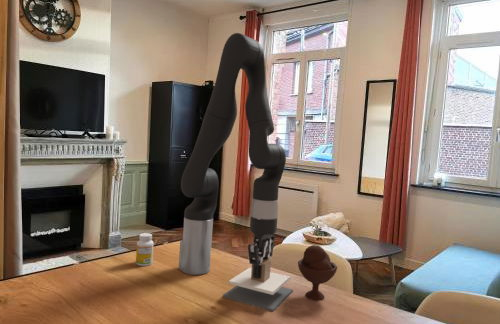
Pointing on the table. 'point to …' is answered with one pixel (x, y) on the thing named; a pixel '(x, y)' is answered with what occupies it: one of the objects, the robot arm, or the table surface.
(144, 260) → the supplement bottle
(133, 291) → the table surface
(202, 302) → the table surface
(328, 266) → the ice cream bowl
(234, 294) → the mat
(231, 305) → the table surface
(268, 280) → the lid
